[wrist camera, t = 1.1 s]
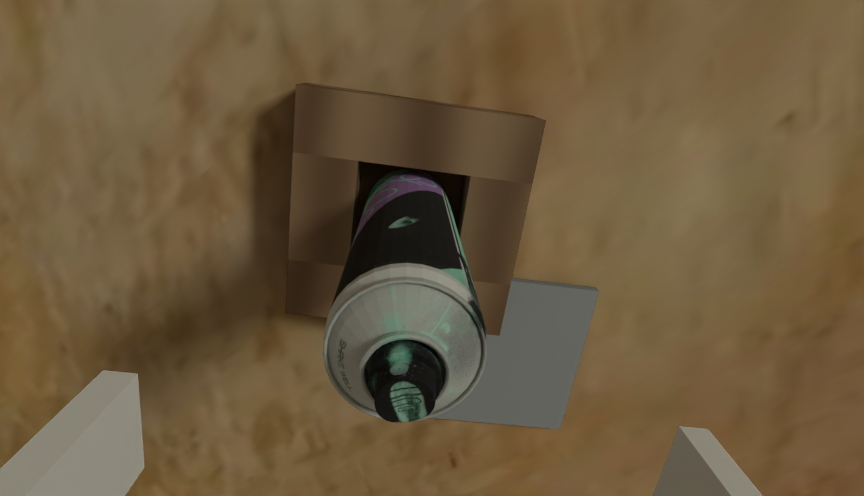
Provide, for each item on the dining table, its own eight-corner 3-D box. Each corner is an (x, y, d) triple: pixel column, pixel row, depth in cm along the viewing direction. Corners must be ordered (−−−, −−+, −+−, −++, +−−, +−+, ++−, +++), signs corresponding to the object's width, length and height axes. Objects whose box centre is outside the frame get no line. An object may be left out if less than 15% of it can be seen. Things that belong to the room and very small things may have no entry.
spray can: (410, 150, 31) (409, 273, 12) (466, 211, 32) (543, 405, 14) (349, 207, 32) (261, 401, 13) (406, 263, 33) (401, 509, 15)
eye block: (295, 293, 34) (285, 313, 31) (306, 82, 29) (295, 84, 26) (492, 314, 35) (499, 335, 32) (533, 115, 30) (545, 120, 28)
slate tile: (408, 410, 38) (408, 415, 37) (429, 268, 34) (429, 271, 33) (557, 424, 39) (560, 429, 38) (596, 287, 35) (599, 291, 34)
